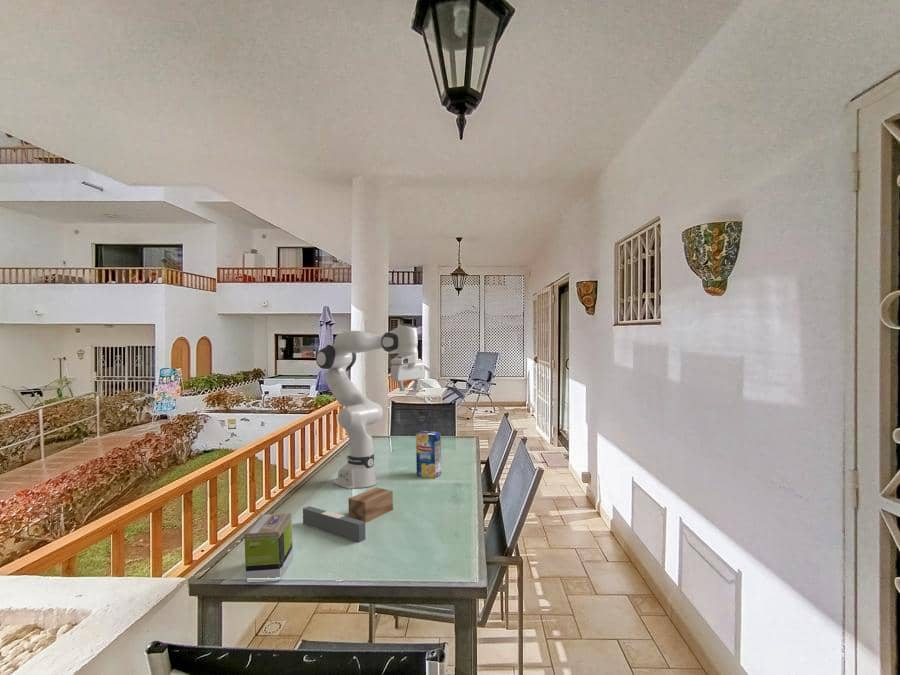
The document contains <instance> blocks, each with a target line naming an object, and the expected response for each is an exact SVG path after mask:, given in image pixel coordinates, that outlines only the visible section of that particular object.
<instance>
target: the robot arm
mask: <svg viewBox="0 0 900 675" xmlns="http://www.w3.org/2000/svg"><path fill="white" fill-rule="evenodd" d="M418 336H419V335H418V330H417V327H416V326H415V325H413V324H412V323H401V324H399V325H398V326H397V327H395V329H392V330H390V331H387V332H385V333H383V334H375V333H372V332H366V331H360V330H347V331H343V332H340V333H338V334H337V335H336V336H335V338H334V342H333V344H332V345H331V344H327V345H326V346H325V347H323V348H321V349H319V351H318V352H317V354H316V358H315V361H316V365H317V366H318V367H319V368H321V369H324V370H327V371H326V372H325V375H324V380H325V383H326V385H327V387H328V389H329V391H330V392H331V393H332V395H333V396H334V398H335V400H336V401H337V402H338V404H339V405H341V406H342V407H343V408H341V409H340V410H339V412H338V414H337V422H338V425H339V426H340V427H342V428H343V429H344V430H345V432H346V434H347V436H348V439H349V440H348V441H349V453H350V455H346V460H347V462H346V463H345V464H344V465H343V466H342V467H340V468H339V469H338V471H337V478H335V479H333V480H332V484H334V483H335V485H337V486H340V487H343V488H345V489H348V490H349V489H360V488H362V489H363V488H369V487H373V486H375V485H376V484H377V483H378V481H377V476H376V470H375V464H374V463H375V453H374V440H373V436H371V435H370V434H368V433H367V430H366V427H367V426H369V425H374V424H376V423H377V422H380V421H381V420H382V418H383V416H384V414H383V413H384V410H383V408H382V405H381V404H380V403H377V402H375V401H372V400H371V399H369V398H368V397H366V396H365V395H363V394H362V392H360V390H358V389H357V388H358V387H356V386H355V384H354V383H353V382H352V381H351V379H350V378H349V376H348V375H347V372H348V371H350V370H351V369H352V367H354V365H355V363H356V361H357V354H358V353H366V352H369V351H373V350H379V349H383V350H384V352H386V353H398V355H396V356H395V357H393V358H392V359H391V360H390V364H391V367H390V379H391V381H392V382H397V385H398V387H399V392H404V391H405V386H404V385H403V384H404V381H412V380H413V381H414V382H413V385H412V390H418V389H419V384H420V380H421V379H424V378H425V374H426V373H425V366H424V363H423V362H424V361H423V360H422V359H421V358H419V350H418V345H419V344H418V343H419V340H418V338H419V337H418Z"/></svg>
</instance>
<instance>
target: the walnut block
mask: <svg viewBox="0 0 900 675" xmlns="http://www.w3.org/2000/svg"><path fill="white" fill-rule="evenodd" d="M393 494H394V493H393V490H391V489H386V488H380V487H374V488H371V489H368V490H366V491H364V492H361V493H358V494H356V495H354V496H351V497H349V498H348V517H350V518H353V519H357V520H361V521H364V522H365V524H367V523H369V522H371V521H373V520H374V519H377V518H379V517H381V516H383V515H385V514H387V513H390V512H391V511H393V510H394V502H393V500H394V497H393Z"/></svg>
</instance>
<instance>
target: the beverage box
mask: <svg viewBox="0 0 900 675" xmlns="http://www.w3.org/2000/svg"><path fill="white" fill-rule="evenodd" d="M415 448H416V449H415V450H416V451H415V452H416V453H415V454H416V455H415V457H416V458H415V460H416V476H417V477H422V478H428V479H436V478H439V477H440V476H442V434H441V432H440V431H429V430H428V431H427V430H421V431H419V432H416V433H415Z"/></svg>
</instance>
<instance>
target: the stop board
mask: <svg viewBox="0 0 900 675" xmlns="http://www.w3.org/2000/svg"><path fill="white" fill-rule="evenodd" d="M304 524H305V525H304ZM302 525H304V526H307V525H308V526H307V527H310V526H311V528H313V527H314V529H316V528H317V530H319V529H320V531H323V532H325V533H326V532H327V533H330V534H332V535H335V536H338V537H341V538H344V539H349V540H352V541H355V542H357V543H361V542H363V541H364V540H366V539H367V538H366V537H367V536H366V523H365V522H364V521H361V520H357V519H353V518H350V517H349V516H347V515H346V516H345V515H344V514H340V513H336V512H333V511H329V510H324V509H321V508H317V507H313V506H311V505H309V506H306V507H303V508H302Z"/></svg>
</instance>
